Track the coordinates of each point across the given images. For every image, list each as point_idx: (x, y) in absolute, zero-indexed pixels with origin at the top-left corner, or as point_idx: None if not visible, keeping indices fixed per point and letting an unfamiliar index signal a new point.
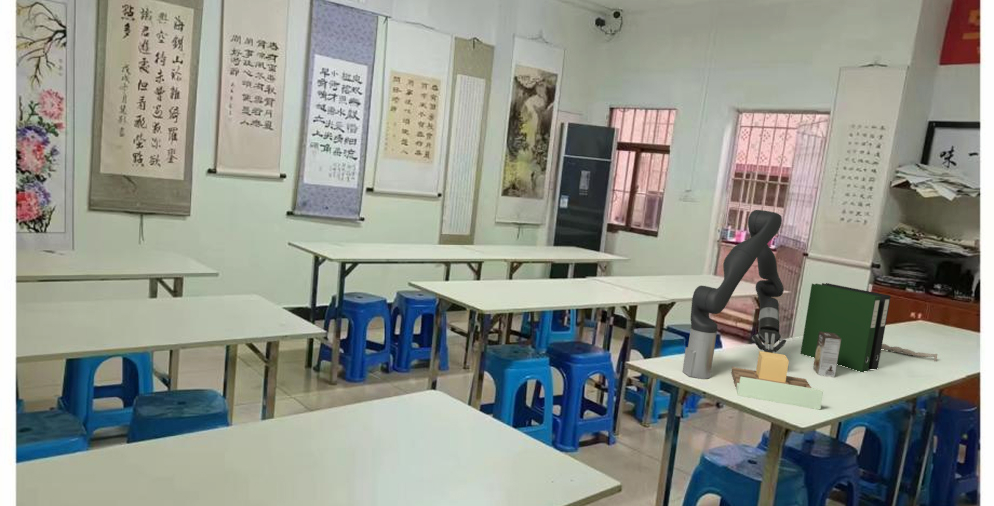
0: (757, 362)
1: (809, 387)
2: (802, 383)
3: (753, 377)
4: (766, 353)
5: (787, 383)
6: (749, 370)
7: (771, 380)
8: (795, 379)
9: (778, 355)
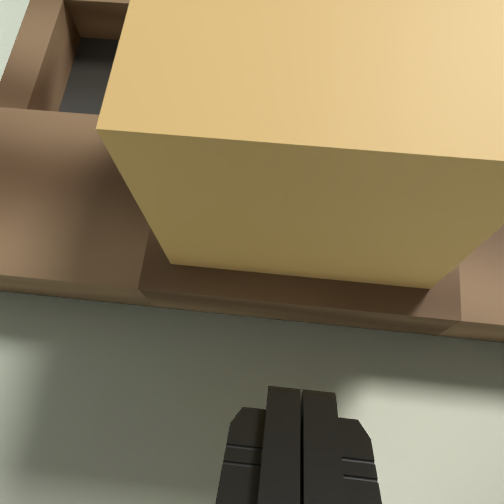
0: (472, 251)
1: (35, 26)
2: (44, 113)
3: None
4: (441, 55)
5: None
6: (501, 294)
7: None
8: (63, 196)
9: (241, 36)
